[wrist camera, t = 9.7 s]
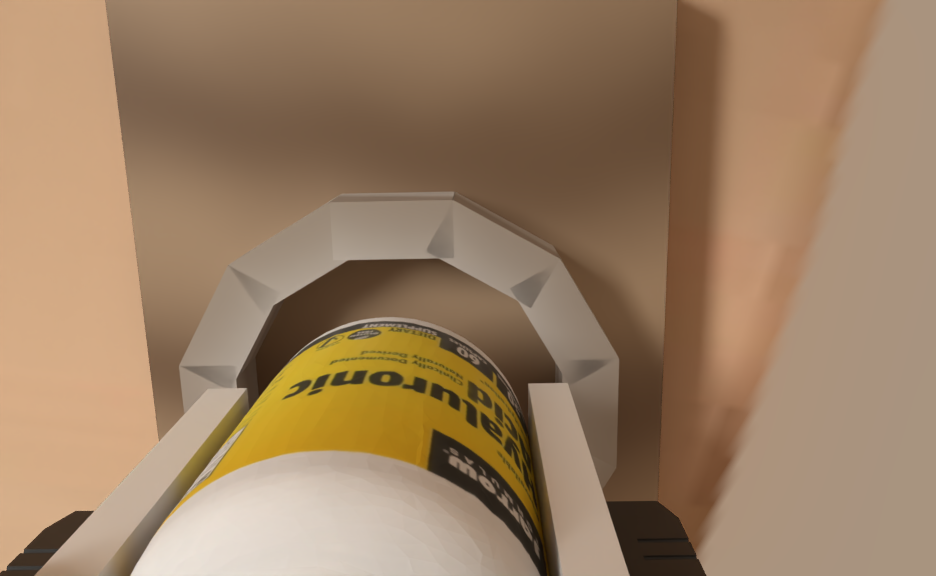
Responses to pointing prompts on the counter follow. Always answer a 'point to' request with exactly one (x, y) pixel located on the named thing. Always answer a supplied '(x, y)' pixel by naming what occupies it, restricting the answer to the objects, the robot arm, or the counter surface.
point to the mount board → (406, 192)
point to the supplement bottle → (367, 468)
